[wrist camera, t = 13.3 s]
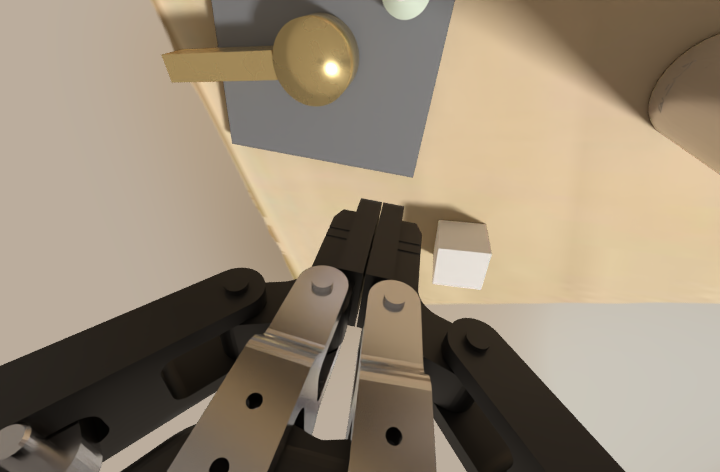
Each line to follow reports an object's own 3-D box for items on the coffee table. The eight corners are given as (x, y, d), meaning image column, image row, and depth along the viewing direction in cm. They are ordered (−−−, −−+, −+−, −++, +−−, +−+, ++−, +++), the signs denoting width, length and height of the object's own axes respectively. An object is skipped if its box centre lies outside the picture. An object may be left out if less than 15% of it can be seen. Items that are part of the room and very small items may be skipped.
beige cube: (433, 253, 47) (432, 283, 42) (438, 219, 43) (438, 248, 38) (477, 258, 46) (481, 290, 41) (486, 223, 42) (491, 254, 37)
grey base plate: (473, -85, 25) (479, -95, 22) (413, 169, 39) (411, 188, 36) (207, -118, 27) (172, -132, 24) (240, 137, 41) (221, 152, 37)
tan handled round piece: (356, 10, 29) (346, 13, 26) (361, 94, 33) (353, 106, 30) (176, 21, 32) (148, 25, 29) (202, 96, 36) (179, 107, 33)
